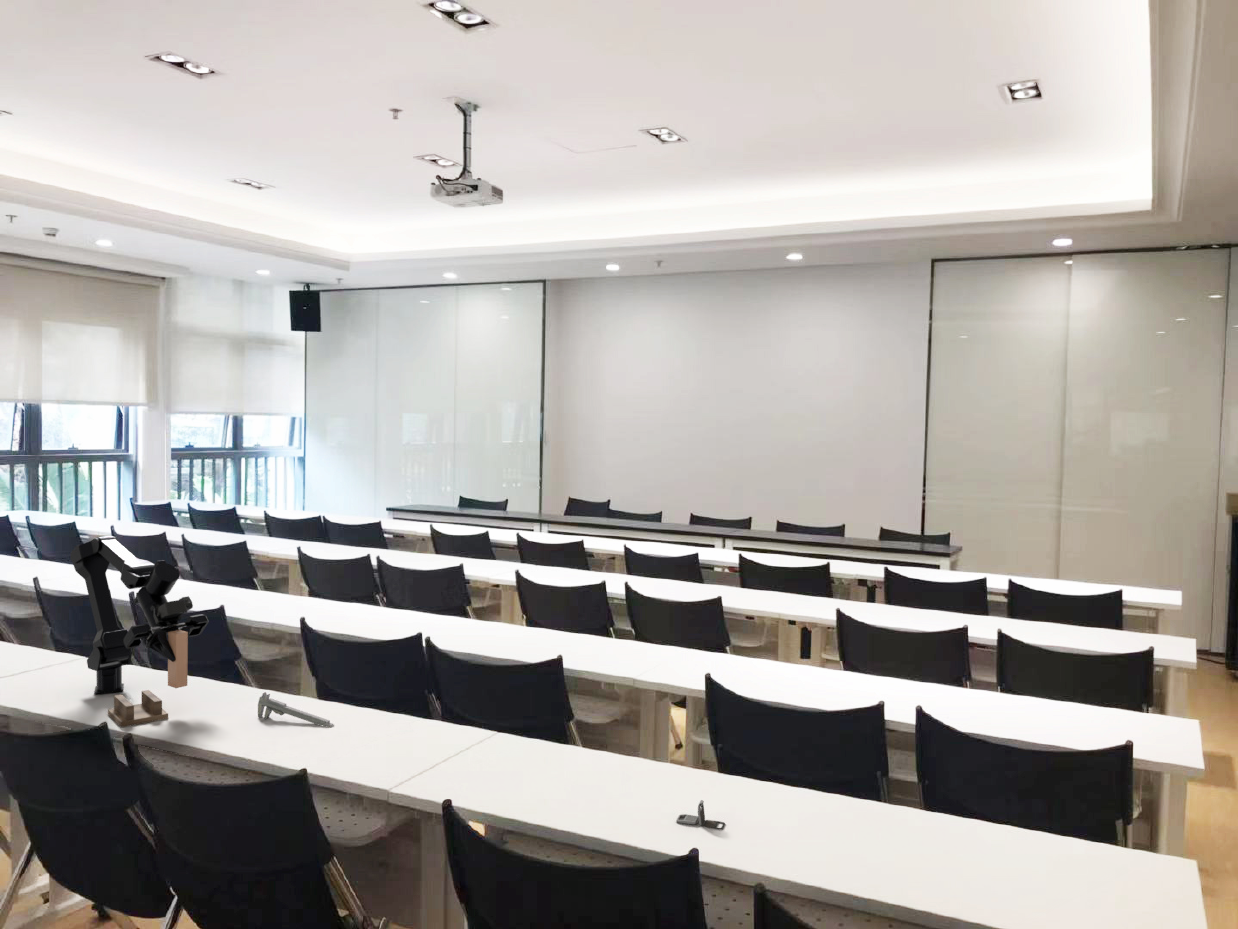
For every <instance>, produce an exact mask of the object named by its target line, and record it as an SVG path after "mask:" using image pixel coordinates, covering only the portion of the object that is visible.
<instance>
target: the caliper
mask: <svg viewBox="0 0 1238 929" xmlns="http://www.w3.org/2000/svg"><path fill="white" fill-rule="evenodd" d="M270 696H271V694H270V693H268V694H267V692H266V691H265V692H263V693H262V695H261V696H260V697H259V698H258V703H257V717H258V718H262V717H263V715H264V717H263V718H264V719H265V718H266V719H268V718H269V717H270V715H271V714H272V711H273V713H275V714H277V715H280V716H283V715H285V714H286V715H289V716H292V717H294V718H298V719H300V720H303V721H307V722H309V723H312V724H315V725H317V724H319V725H318V726H320V725H323V726H322V727H326V726H327V727H330V728H332V726H333V727H334V726H335V724H334V723H332V722H331V720H329V719H327V718H324V717H320V716H317V715H315V714H312V713H308V712H307V711H303V710H300V709H297V708H294V707H292V706H289V705H287V703H285V702H282V701H279V700H277V699H275V698H270ZM265 707H266V708H265ZM264 710H265V712H264Z"/></svg>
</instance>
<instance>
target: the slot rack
mask: <svg viewBox="0 0 1238 929" xmlns="http://www.w3.org/2000/svg"><path fill="white" fill-rule="evenodd" d="M113 699H114V700H113V708H109V709H107V715H108V716H109V717H110V718H111V719H112V720H113V721H114V722H116V724H117V725H118V724H119V725H120V726H121V727H120V726H119V725H118V726H119V727H120V728H125V727H129V726H130V725H131V726H135V725H134V724H136V725H141V724H145V723H152V722H157V721H164V720H168V719H169V713H168V712H167V711H166V710H165V709H163V700H162V699H161V698H160V697H158V696H157V695H156V694H155V693H153V692H152V691H151V690H149V689H148V690H147V689H146V690H142V691H141V703H137V704H133V703H132V702H131V701H130V700H128V699H127V698H126V697H125V695H123V694H116V695H113ZM131 726H130V727H131Z"/></svg>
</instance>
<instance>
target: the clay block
mask: <svg viewBox="0 0 1238 929" xmlns="http://www.w3.org/2000/svg"><path fill="white" fill-rule="evenodd" d="M167 641H168V643H169V645H170V647H171V649H172V651H173V653H174V655H175V658H176V660H175V661H174V662H172V661H171V660H169V659H168V658H167V686H168V687H170V688H174V689H179V688H182V687H183V688H184V687H187V686H188V662H189V660H188V658H189V637H188V632H186V631H182V630H175V631H169V632H168V634H167Z"/></svg>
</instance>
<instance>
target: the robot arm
mask: <svg viewBox="0 0 1238 929" xmlns="http://www.w3.org/2000/svg"><path fill="white" fill-rule="evenodd" d="M69 556H70V557H69V558H70V561H71V563H72V565H73V568H74V570H75V572H76V573H77V574H78V575H79V576H81V578H83V579H84V581H85V585H86V590H87V594H88V598H89V599H88V600H89V602H90V607H91V612H92V615H93V619H94V625H95V628H96V634H95V637H94V639H93V641H92V647H93V648H92V650H91V653H90V654H89V656H88V658H86V664H87V668H88V669H89V670H91V671H92V670H93V671H95V672H96V685H95V687H94V691H93V692H94V693H93V694H94V695H98V694H99V695H101V694H108V693H121V692H123V691H124V686H125V683H122V682H123V679H122V677H123V675H122V673H123V672H122V670H123V668H122V666H128V665H131V660H132V656H133V650H134V648H138V647H140V645H141V643H142V639H145V641H146V644H145V645H144V646H145V648H146V649H148V648H149V649H151V650H153V651H155V652H157V653H158V654H160V655H162V656H163V657H165V658H166V659H167V660H168V659H169V660H171V661H172V662H174V661H175V660H176V658H175V655H174V653H173V651H172V649H171V647H170V645H169V643H168V632H169V631H175V630H182V631H186V632H188V638H191V637H197V636H199V635H201V634H202V633H203V631H204V630H206V627H207V625H208V624H209V623H210V621H209V619H208V617H207V615H206V614H195V615H189V616H188V618H187V619H186V620H185V622H180V623H179V621H181V620H182V618H183V616H182V615H183V614H187V613H188V611H189V610H191V609H193V606H194V605H193V601H192V600H191V598H190V596H182V597H181V598H179V599H177V600H170V601H168V600H167V597H166V595H168V594H170V592H171V591H172V589H173V587H174V586H175V584H176V583H177V581H178V580H179V578H180V576H181V575H180V570H179V569H178V568H177V567H175V565H172V564H170V563H167V562H166V560H165V559H164V560H163V559H162V560H157V561H156V562H155V563H153V562H151V561H149V560H146V559H140V558H138V557H136V556H135V555H134V554H133V553H132V552H130V551H129V550H128V549H127V548H126V547H125V546H124V545H122V544H121V543H120V542H119V541H118V538H117V537H116V536H113V535H109V536H107V535H106V536H105V535H104V536H97V537H95V538H93V539H92V540H89V541H86V542H85V543H81V544H79V545H76V546H75V547H74V548H73V549H72V550H71V551H70V555H69ZM110 565H112V567H114V568H115V569H116V570H117V571H118V572H119V573H120V581H121V583H122V584H123V585H124V586H125V588H127V589H128V590H135V589H139V590H138V591H137V592H136V593H135V598H134V599H133V604H134V605H136V604H139V605H140V607H141V610H142V611H143V614H144V617H143V622H144V623H143V624H138V625H137V624H136V625H132V626H130V628H129V630H128V629H125V628H124V629H123V628H122V627H120V626H119V624H118V620H117V616H116V612H115V607H114V604H113V600H112V595H111V592H110V587H109V582H108V578H107V575H106V573H107V571H108V569H109V566H110ZM147 623H148V624H147Z"/></svg>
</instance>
